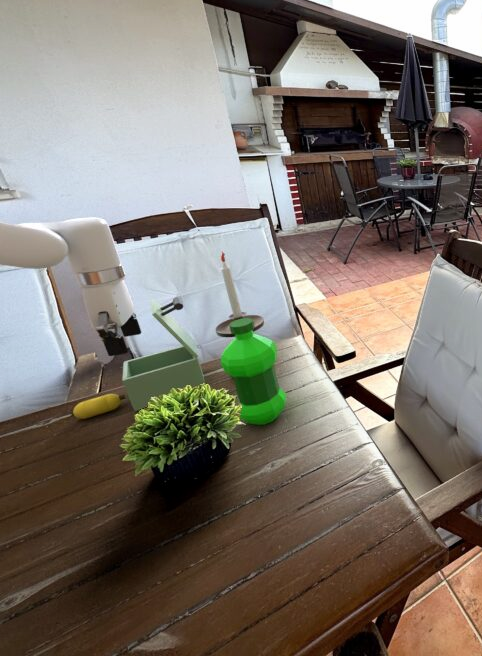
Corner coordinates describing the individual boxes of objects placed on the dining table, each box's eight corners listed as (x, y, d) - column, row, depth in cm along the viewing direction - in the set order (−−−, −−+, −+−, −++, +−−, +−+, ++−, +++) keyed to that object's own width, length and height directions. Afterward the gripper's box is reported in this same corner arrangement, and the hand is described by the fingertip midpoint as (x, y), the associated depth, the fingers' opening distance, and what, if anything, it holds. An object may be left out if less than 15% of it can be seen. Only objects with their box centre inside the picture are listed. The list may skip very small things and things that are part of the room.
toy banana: (73, 425, 91) (66, 411, 90) (75, 417, 94) (68, 402, 92) (127, 408, 97) (122, 394, 95) (128, 400, 99) (122, 386, 98)
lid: (151, 314, 93) (177, 301, 95) (150, 300, 100) (174, 288, 103) (195, 358, 101) (217, 345, 103) (191, 342, 108) (212, 330, 111)
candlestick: (280, 367, 113) (253, 249, 101) (237, 386, 105) (202, 260, 93) (264, 355, 119) (237, 242, 107) (222, 371, 111) (187, 251, 99)
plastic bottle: (228, 428, 90) (199, 331, 81) (265, 399, 100) (242, 309, 91) (265, 436, 88) (239, 337, 79) (300, 406, 98) (279, 314, 89)
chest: (134, 411, 95) (122, 380, 92) (134, 390, 103) (123, 361, 100) (206, 387, 104) (197, 358, 101) (202, 370, 112) (193, 342, 109)
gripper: (93, 266, 92) (118, 331, 98) (58, 291, 78) (89, 367, 83) (135, 261, 95) (157, 325, 101) (109, 285, 81) (135, 358, 87)
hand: (126, 344), depth 92 cm, fingers open, 9 cm apart
